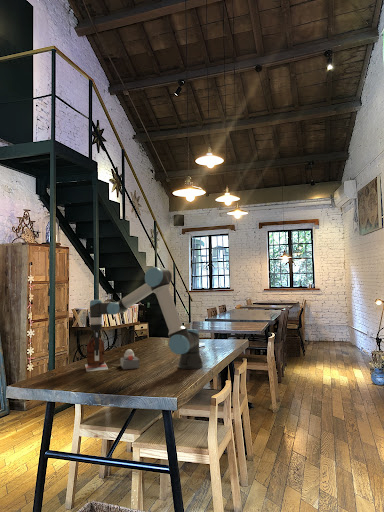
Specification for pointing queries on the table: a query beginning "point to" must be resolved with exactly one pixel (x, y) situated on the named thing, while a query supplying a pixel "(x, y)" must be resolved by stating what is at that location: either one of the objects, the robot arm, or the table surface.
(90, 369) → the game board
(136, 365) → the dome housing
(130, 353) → the dome
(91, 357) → the wooden figurine
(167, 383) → the table surface
